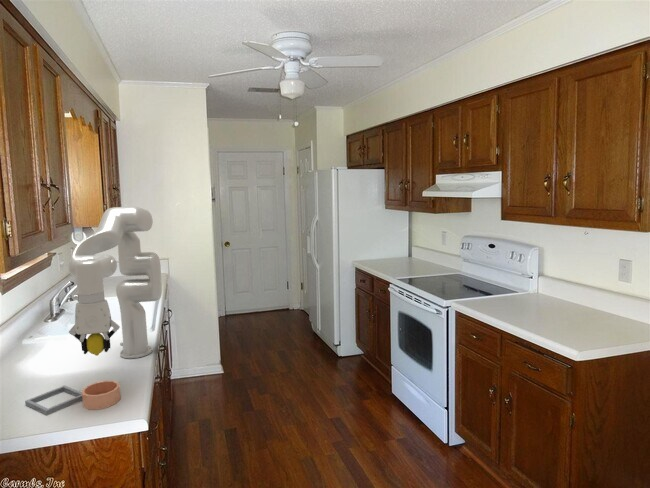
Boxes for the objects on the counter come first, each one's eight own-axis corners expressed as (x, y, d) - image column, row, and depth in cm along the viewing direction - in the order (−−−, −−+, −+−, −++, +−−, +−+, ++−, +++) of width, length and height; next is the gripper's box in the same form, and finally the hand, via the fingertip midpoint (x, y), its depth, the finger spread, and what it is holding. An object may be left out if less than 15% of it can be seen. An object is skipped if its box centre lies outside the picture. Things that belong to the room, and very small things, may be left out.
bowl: (76, 404, 155) (74, 391, 154) (107, 390, 164) (106, 378, 164) (96, 412, 149) (94, 399, 149) (127, 398, 159) (126, 385, 158)
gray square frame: (25, 405, 155) (25, 400, 155) (64, 389, 166) (64, 385, 166) (46, 415, 148) (46, 410, 148) (86, 398, 159) (86, 394, 159)
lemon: (88, 354, 156) (85, 330, 155) (106, 351, 158) (104, 328, 157) (87, 360, 151) (84, 336, 150) (106, 357, 153) (103, 333, 152)
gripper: (58, 302, 146) (64, 358, 149) (117, 298, 150) (122, 353, 153) (65, 296, 153) (71, 350, 156) (122, 292, 157) (126, 345, 160)
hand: (96, 351), depth 154 cm, fingers closed on lemon, 5 cm apart
